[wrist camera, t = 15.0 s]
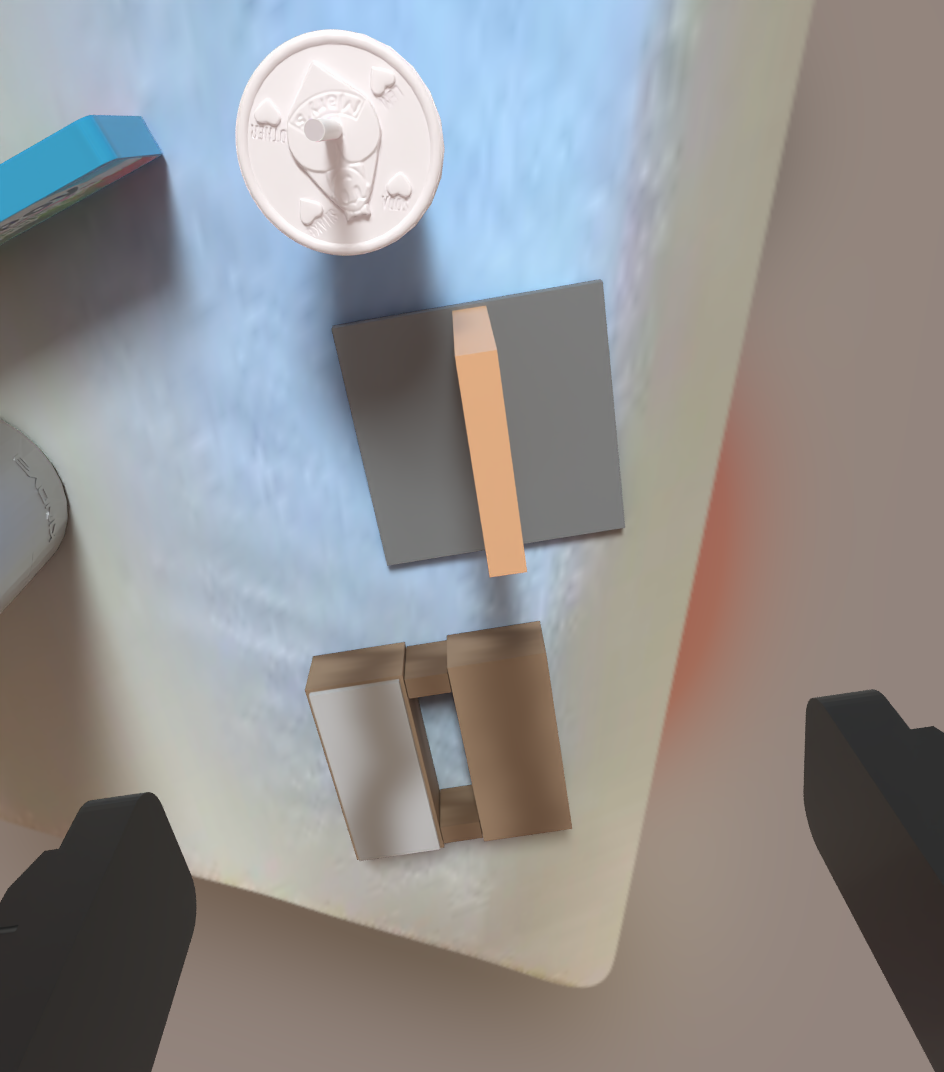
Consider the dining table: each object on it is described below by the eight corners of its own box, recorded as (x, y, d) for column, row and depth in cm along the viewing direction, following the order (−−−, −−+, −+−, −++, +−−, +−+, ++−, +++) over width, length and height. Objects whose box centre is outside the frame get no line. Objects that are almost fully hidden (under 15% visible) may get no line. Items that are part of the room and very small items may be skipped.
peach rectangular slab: (489, 577, 34) (454, 356, 30) (481, 497, 41) (452, 311, 37) (527, 571, 34) (497, 349, 30) (511, 492, 41) (485, 305, 37)
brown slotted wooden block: (361, 820, 50) (356, 864, 48) (312, 656, 45) (303, 693, 42) (565, 790, 50) (572, 832, 47) (539, 620, 45) (546, 656, 42)
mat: (388, 560, 43) (387, 565, 42) (332, 325, 38) (331, 328, 37) (622, 522, 42) (625, 527, 42) (600, 279, 37) (602, 281, 36)
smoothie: (418, 31, 33) (405, -27, 20) (461, 202, 35) (472, 246, 23) (262, 78, 33) (153, 50, 21) (315, 243, 36) (249, 308, 23)
